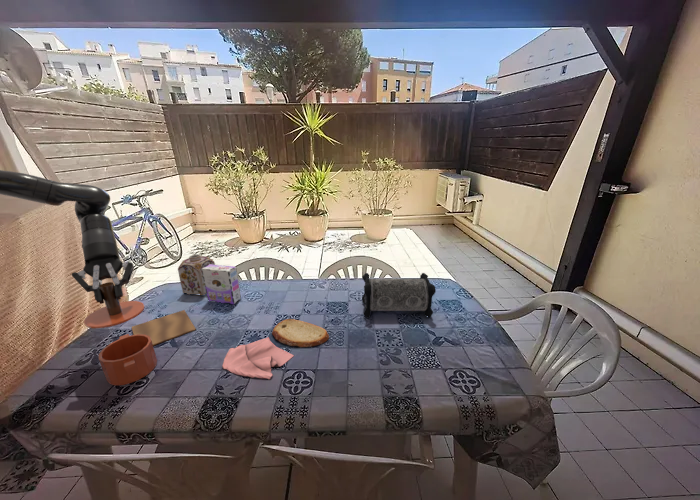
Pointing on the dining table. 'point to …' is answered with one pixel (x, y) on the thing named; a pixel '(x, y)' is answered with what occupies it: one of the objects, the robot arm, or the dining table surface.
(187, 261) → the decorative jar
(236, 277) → the candy box
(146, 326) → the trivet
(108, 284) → the lid
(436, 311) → the dining table surface
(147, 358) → the pot
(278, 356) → the cloth
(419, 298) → the speaker
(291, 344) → the slice of bread
